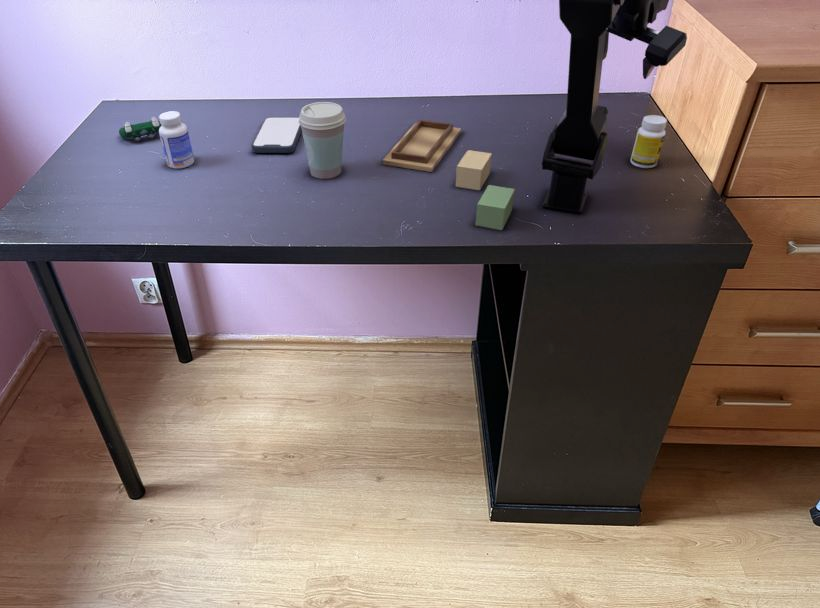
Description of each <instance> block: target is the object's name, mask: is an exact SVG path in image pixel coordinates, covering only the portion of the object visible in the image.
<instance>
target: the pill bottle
mask: <svg viewBox="0 0 820 608" xmlns="http://www.w3.org/2000/svg"><path fill="white" fill-rule="evenodd" d="M158 119H159V120H158V121H160V123H161V125H162V126H161V127H160V128H159V132H158V134H159V138H160V142H161V146H162V150H163V155H164V158H165V162H166V165H167V166H168V167H170V168H171V169H176V170H179V169H185V168H187V167H191V166H192V165H193V164H194V162H195V157H194V153H193V147H192V143H191V140H190V139H191V138H190V134H189V130H188V126H187V124H185V123H184V122H182V121H183V120H182V115H181V113H180V112H179V111H177V110H170V111H165V112H162V113H161V114H159V115H158Z"/></svg>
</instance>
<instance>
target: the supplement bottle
mask: <svg viewBox="0 0 820 608" xmlns="http://www.w3.org/2000/svg"><path fill="white" fill-rule="evenodd" d="M667 122H668V119H667V118H666V117H664V116H662V115H655V114H649V115H648V114H647V115H645V116H643V118H642V122H641V126H640V127H639V128H638V129H637V133H636V136H635V141H634V145H633V147H632V153H631V157H630V159H629V160H630V163H631V165H632V166H635V167H637V168H640V169H652V168H654V167H656V166H657V164H658V162H659V159H660V156H661V152H662V149H663V144H664V141H665V138H666V130H665V129H666V128H667V124H668V123H667Z"/></svg>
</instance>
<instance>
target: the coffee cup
mask: <svg viewBox="0 0 820 608" xmlns="http://www.w3.org/2000/svg"><path fill="white" fill-rule="evenodd" d="M298 118H299V124H300V125H301V128H302V131H301V134H302V137H303V143H304V147H305V152H306V157H307V162H308V167H309V171H310V175H311V176H312V177H314V178H316V179H320V180H329V179H334V178H336V177H338V176H339V175H341V173H342V163H343V148H344V133H345V132H344V131H345V122H346V121H347V117H346V114H345V112H344V109H343V107H342V106H341V105H340V104H338V103H335V102H332V101H331V102H330V101H317V102H312V103H308V104H306V105H304V106H303V107H302V108H301V109H300V113H299V116H298Z"/></svg>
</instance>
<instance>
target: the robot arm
mask: <svg viewBox="0 0 820 608" xmlns="http://www.w3.org/2000/svg"><path fill="white" fill-rule="evenodd" d="M669 2H670V0H558V7H559V8H558V11H559V13H558V15H559V20H560V21H561V22H562V24H563V25H564V27H565V28H566V30H567V31H568V32H569V34H570V42H569V44H570V45H569V60H568V76H567V91H566V92H567V93H566V94H567V95H566V96H567V97H566V108H565V109H564V111H563V112H562V115H561V116H560V118H559V120H558V123H556V124H555V125H554V128H553V130H552V131H550V133H549V136H548V138H547V142H546V144H545V148H544V152H543V156H542V161H541V165H542V167H541V170H543V171H551V177H550V183H549V189H548V190H547V193H546V195H545V198H544V200H543V202H542V207H541V208H543V209H549V210H554V211H561V212H566V213H572V214H578V215H579V214H582V213H583V210H584V206H585V204H586V201H587V197H588V194H586V193H585V191H586V186H587V183H588V179H589V180H594V178H595V177H596V175H597V174H598V172H599V171H600V170H601V167H602V163H603V160H604V155H605V152H606V149H607V144H608V141H609V137H610V136H609V135H610V133H609V132H607V126H608V125H607V123H608V122H607V121H608V115H609V110H608V108H607V106H602V105H599V97H600V88H601V79H602V70H603V61H604V60H605V59H606V58H607V56H608V50H609V40H610V34H612V35H614V36H617V37H620V38H622V39H624V40H627V41H628V42H632V41H634V40H637V41H640V42H642V43H644V44H647V47H646V49H645V51H644V56H645V57H644V58H643V59H642V77H643V78H642V79H643V80H646V79H648V78H649V76H651V73H652V72H653V70H654V69H655V68H657V67H659V66H660V67H665V66H667V65H668V64H669V63H670V62H671V61H672V60H673V59H674V58H675V57H676V56H677V55H678V54H679V53H680V52H681V51H682V50H683V48H685V47H686V45H687V40H688V36H687V33H686V32H684V31H681V30H679V29H677V28H674V27H671V26H668V25H665V26H664V27H663V28H662V29H661V30H660V31H659V30H656V29H653V28H651V27H648V25H649V24H653V23H654V22H655V21H656V20H657V17H658V16H657V15H658V14H659V13H661V12H662V11H665V10H667V8H668V5H669ZM556 154H557V155H561V156H567V157H570V158H567V157H561V156H557V155H556ZM571 157H572V158H577V159H581V160H577V159H572V158H571ZM583 160H586V161H583ZM588 161H592V162H588Z"/></svg>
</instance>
